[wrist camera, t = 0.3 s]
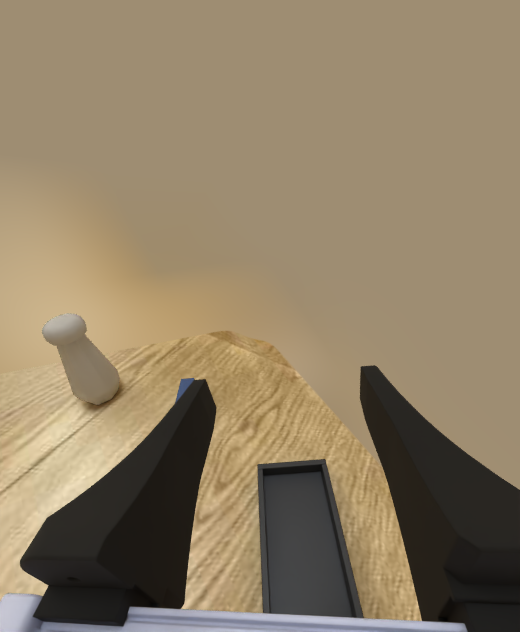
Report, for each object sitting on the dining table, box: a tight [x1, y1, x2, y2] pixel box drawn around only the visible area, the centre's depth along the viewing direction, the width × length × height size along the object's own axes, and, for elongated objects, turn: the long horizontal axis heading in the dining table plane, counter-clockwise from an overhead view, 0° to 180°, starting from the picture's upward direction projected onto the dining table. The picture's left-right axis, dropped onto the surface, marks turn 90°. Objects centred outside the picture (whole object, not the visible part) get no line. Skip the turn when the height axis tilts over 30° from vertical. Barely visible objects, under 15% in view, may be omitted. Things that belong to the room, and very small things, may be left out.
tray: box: [258, 459, 364, 618], centre depth 23 cm, size 13×7×2 cm, turn 3°
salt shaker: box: [42, 314, 120, 405], centre depth 36 cm, size 6×6×13 cm
